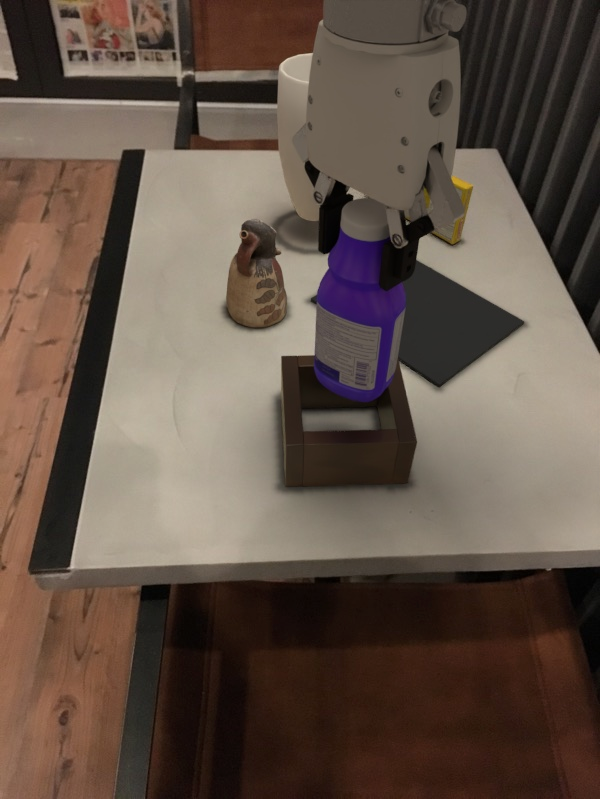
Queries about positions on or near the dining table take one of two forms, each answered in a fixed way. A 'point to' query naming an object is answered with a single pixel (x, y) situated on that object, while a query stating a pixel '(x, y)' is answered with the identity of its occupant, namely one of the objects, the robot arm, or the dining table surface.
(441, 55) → the robot arm
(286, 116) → the cup
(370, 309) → the bottle
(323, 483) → the holder
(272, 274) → the figurine
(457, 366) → the mat
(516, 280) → the dining table surface
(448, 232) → the candy box
